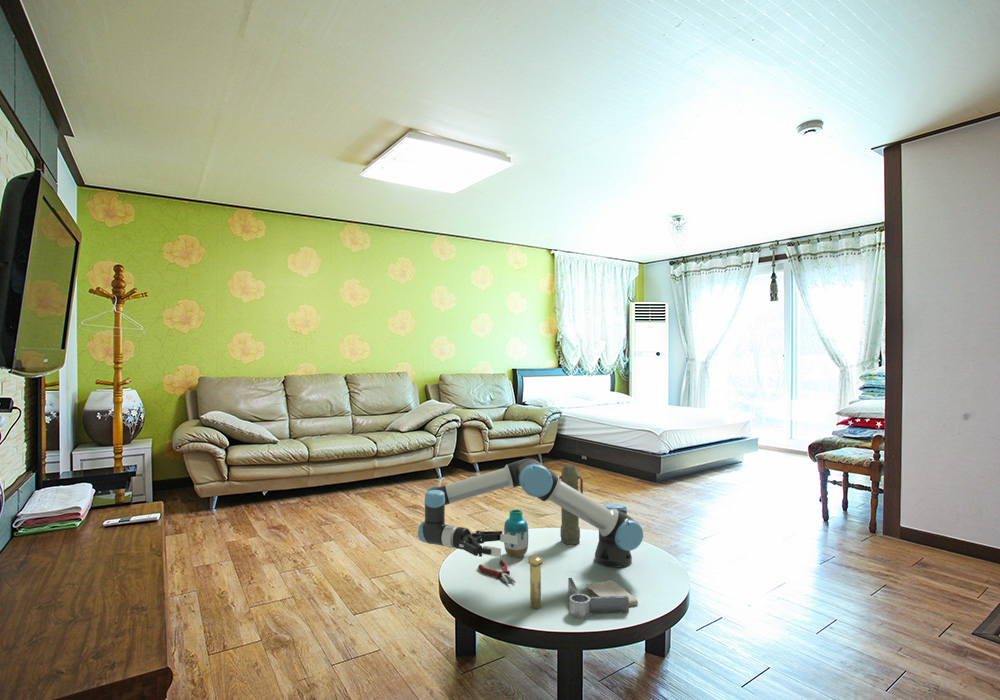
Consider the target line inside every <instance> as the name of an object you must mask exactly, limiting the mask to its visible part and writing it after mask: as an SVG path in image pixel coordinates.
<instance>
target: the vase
mask: <svg viewBox="0 0 1000 700" xmlns="http://www.w3.org/2000/svg"><path fill="white" fill-rule="evenodd" d="M503 534H506V535H512V536H517V545H516V544H511V543H505V542H503V544H504V545H503V546H504V550H505V552H506V554H507V555H508V556H510V557H514V558H519V557H522V556H525V554H527V552H528V548H529V526H528V522H527V520H526V519H525V518H524V516H523V510H521V509H517V508H516V509H515V508H514V509H511V510H509V518H507V519H506V520H505V521H504V527H503Z"/></svg>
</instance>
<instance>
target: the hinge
mask: <svg viewBox="0 0 1000 700" xmlns="http://www.w3.org/2000/svg"><path fill="white" fill-rule="evenodd" d="M567 580H568V581H567V583H568V586H567V588H568V594H569V595H570V596H569V598H568V602H569V603H568V607H569V608H568V611H569V612H568V613H569V615H570V616H571V617H572V616H573V618H574V617H575V619H579V620H582V619H587V618H590V617H591V615H598V614H621V613H620V612H623V613H627V612H628V613H630V606H629V597H628V596H605V597H592V596H588V595H587V594H584V593H580V592H579V590H578V588H577V586H576V584H575V582H574V580H573V578H572V577H568V579H567ZM623 613H622V614H623Z"/></svg>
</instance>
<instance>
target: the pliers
mask: <svg viewBox="0 0 1000 700" xmlns="http://www.w3.org/2000/svg"><path fill="white" fill-rule="evenodd" d="M498 563H499V565H500V566H501V567H502V568H503V567H504V568H503V572H502V571H501V570H500V571H499V570H496V569H492V568H488V567H485V566H484V565H483V564H481V563H479V565H478V566H477V567H478V571H480V573H482V574H484V575H488V576H490V577H494V578H495V579H496V580H499V579H501V580H502V581H503V582H504V583H505V584H508V585H510V582H511V583H515V584H516V581H515V579H514V578H513V577H511V575H510V574H511V572H510V570H508V565H507V563H506V562H505V561H504V560H503V559H502V560H499V562H498Z"/></svg>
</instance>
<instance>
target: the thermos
mask: <svg viewBox="0 0 1000 700" xmlns="http://www.w3.org/2000/svg"><path fill="white" fill-rule="evenodd" d="M559 479H560V481H562V482H564V483H565V484H567V485H569V486H570V487H572V488H574V489H575V490H577V491H579V492H580V493H582V494H584V491H583V490H584V486H583V485H584V483H583V482H584V481H583V480H584V479H583V478H582V477H581V476H580V475H579V472H578V468H577V467H576V466H575V465H572V464H571V465H569V464H568V465H564V466H563V467H562V470H561V475H560V476H559ZM579 480H580V481H579ZM579 482H580V483H579ZM578 484H580V489H579V485H578ZM560 508H561V512H560V513H561V525H560V543H561V544H562V543H563V544H562V545H564V544H565V546H568V545H574V546H577V544H578V545H580V544H579V543H581V542H580V538H581V529H580V526H579V524H580V523H579V522H580V520H579V519H580V518H579V517H577V516H576V515H574V514H572V513H570V512H569V511H567V510H565V509H564V508H562V507H560Z"/></svg>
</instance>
